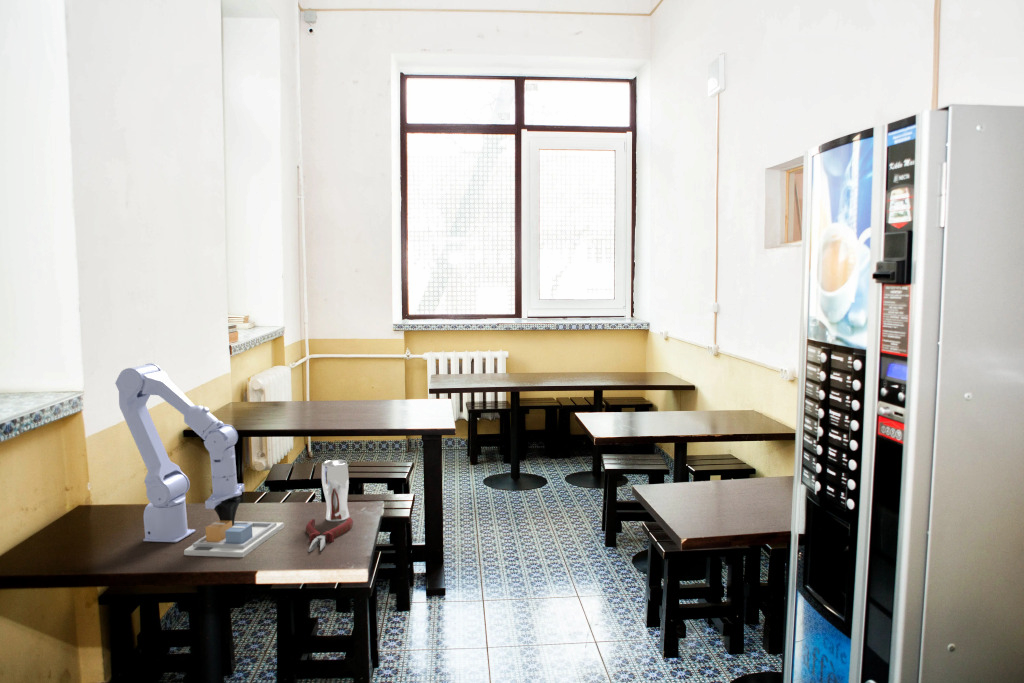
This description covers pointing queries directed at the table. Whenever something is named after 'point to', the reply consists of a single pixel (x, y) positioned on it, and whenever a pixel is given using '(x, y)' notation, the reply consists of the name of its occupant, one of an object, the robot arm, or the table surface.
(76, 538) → the table surface
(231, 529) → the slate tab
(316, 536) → the pliers
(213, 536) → the orange white-striped block
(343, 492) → the beer glass
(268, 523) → the white flat tray
